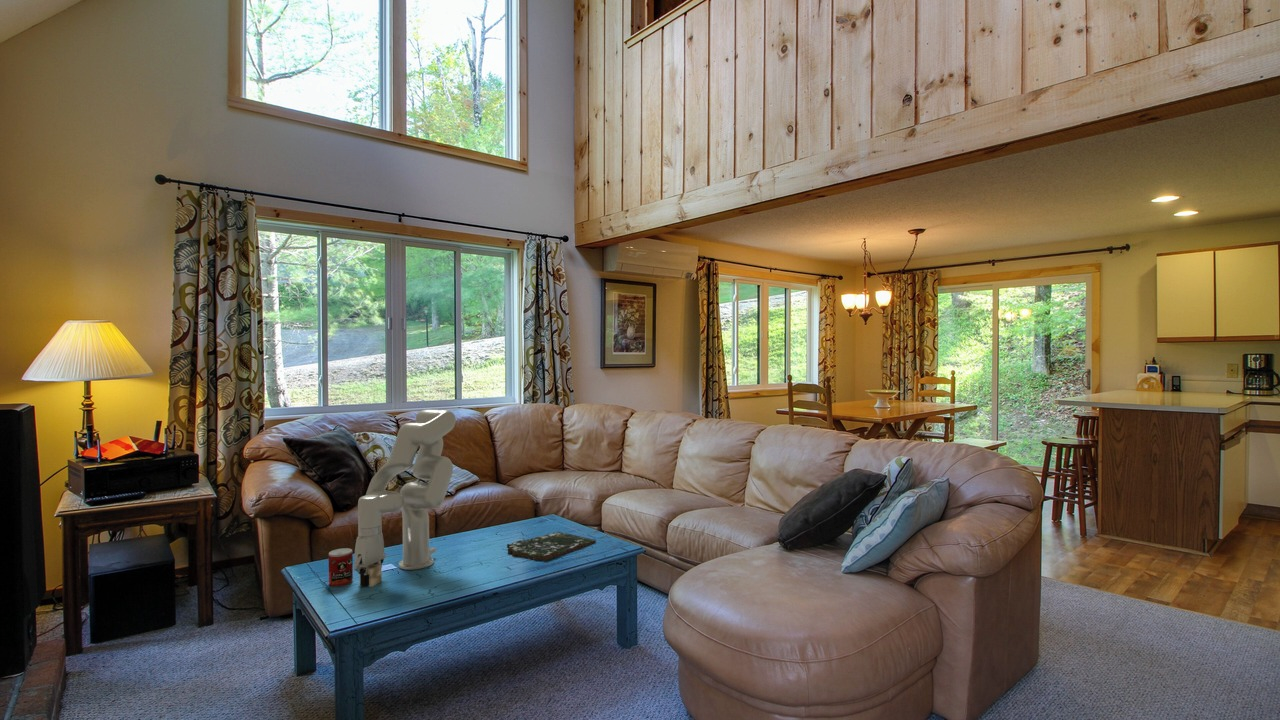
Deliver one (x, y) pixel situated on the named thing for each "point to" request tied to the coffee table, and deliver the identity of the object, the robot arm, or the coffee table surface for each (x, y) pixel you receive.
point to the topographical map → (548, 546)
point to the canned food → (340, 567)
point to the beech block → (374, 574)
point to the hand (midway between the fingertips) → (370, 582)
